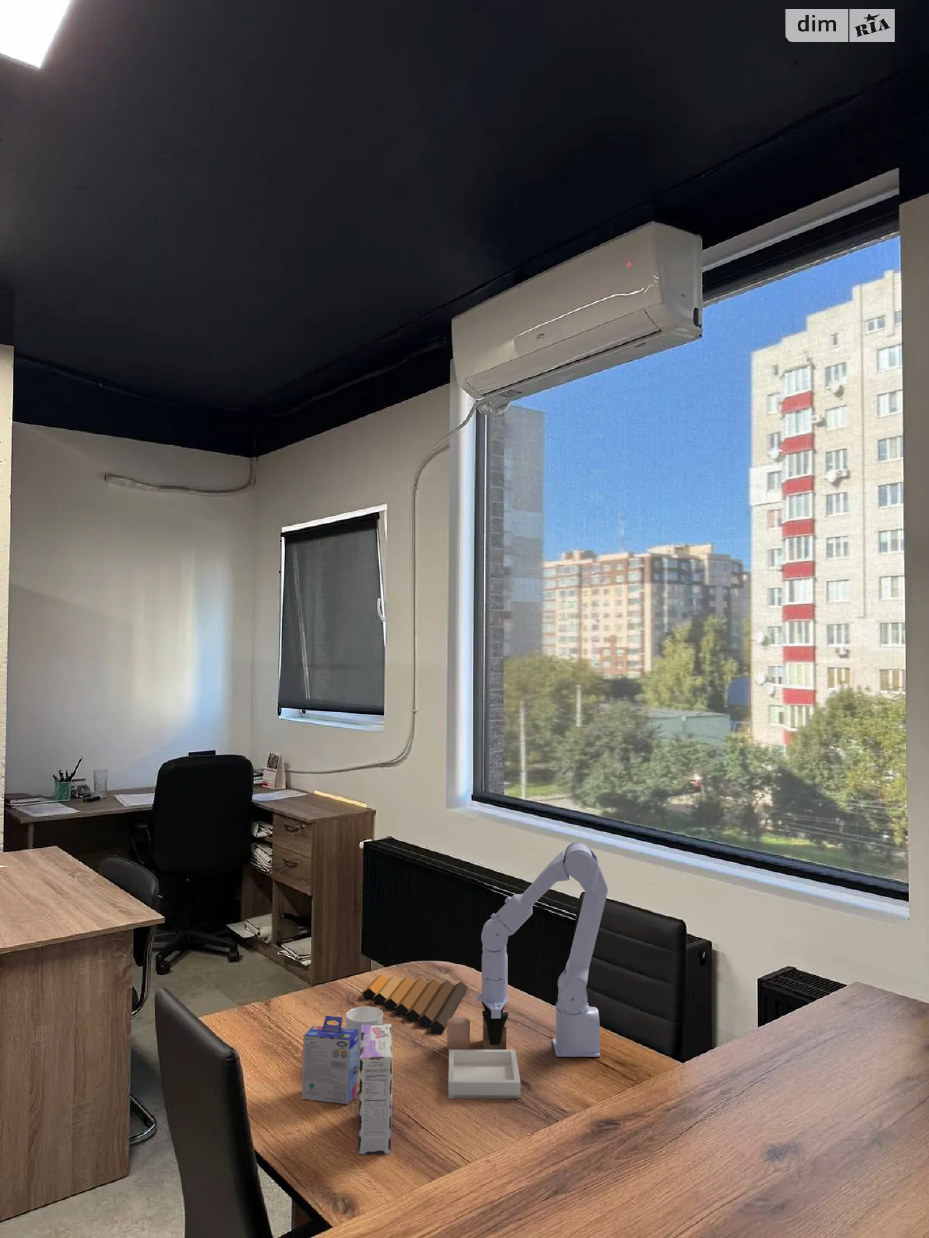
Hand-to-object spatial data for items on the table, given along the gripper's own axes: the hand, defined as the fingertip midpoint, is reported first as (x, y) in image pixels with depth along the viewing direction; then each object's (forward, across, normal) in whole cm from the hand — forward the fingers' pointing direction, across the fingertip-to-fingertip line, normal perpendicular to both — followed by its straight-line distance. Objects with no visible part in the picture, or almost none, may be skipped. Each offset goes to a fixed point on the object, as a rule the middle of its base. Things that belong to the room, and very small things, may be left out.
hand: (494, 1038), depth 187 cm
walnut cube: (+1, 0, 0) cm, 1 cm away
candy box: (+2, +35, -23) cm, 42 cm away
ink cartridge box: (+2, +22, -33) cm, 40 cm away
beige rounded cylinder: (+2, +2, -8) cm, 8 cm away
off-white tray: (+1, +16, -3) cm, 16 cm away
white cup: (+2, +8, -28) cm, 29 cm away
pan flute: (+2, -21, -20) cm, 29 cm away
